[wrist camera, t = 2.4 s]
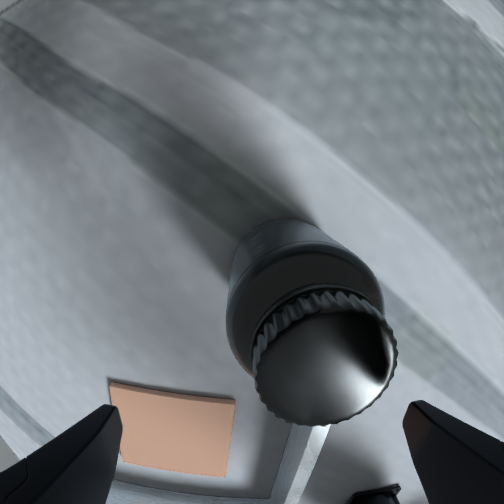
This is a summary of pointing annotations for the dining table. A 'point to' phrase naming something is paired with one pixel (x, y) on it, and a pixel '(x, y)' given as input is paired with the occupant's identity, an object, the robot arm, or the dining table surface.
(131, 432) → the terracotta tile
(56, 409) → the dining table surface
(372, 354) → the supplement bottle
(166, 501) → the corner walls
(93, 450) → the robot arm
